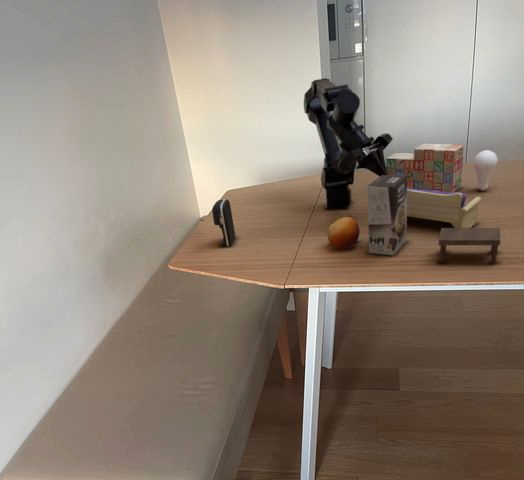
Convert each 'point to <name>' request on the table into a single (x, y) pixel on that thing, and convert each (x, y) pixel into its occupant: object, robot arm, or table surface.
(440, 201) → the toy sofa
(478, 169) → the lightbulb
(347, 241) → the fruit
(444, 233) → the coffee table
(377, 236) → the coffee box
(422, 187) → the stack of blocks
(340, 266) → the table surface
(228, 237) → the battery charger
